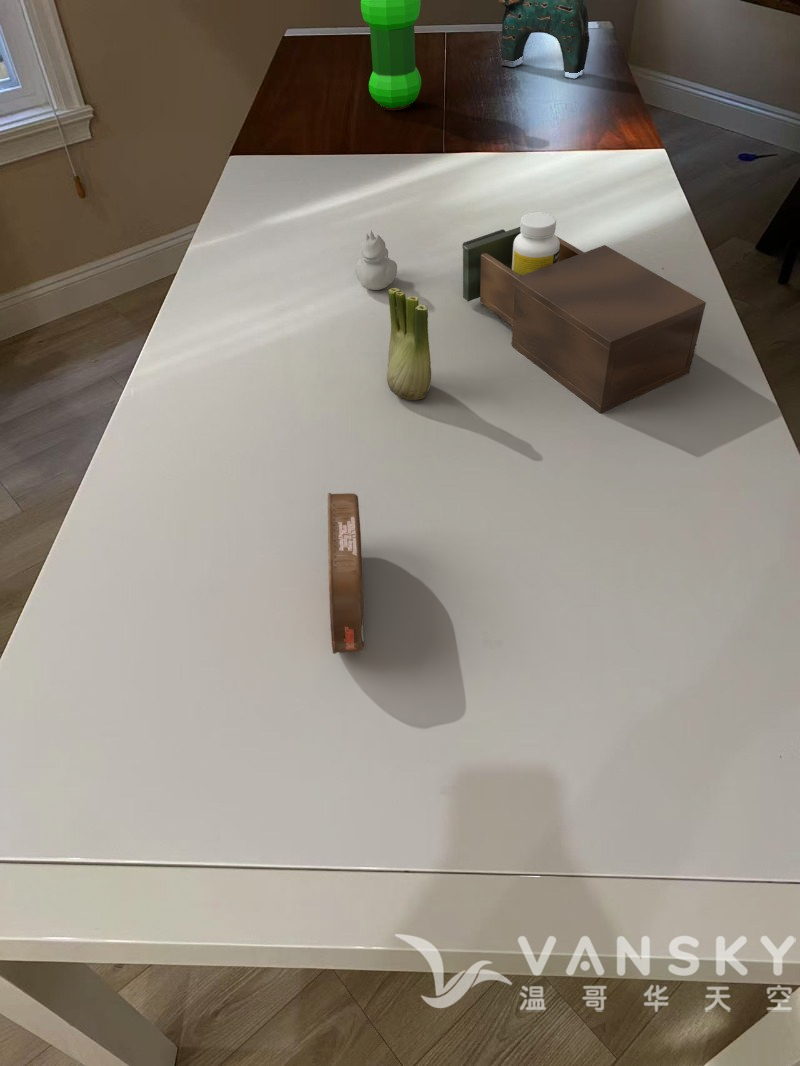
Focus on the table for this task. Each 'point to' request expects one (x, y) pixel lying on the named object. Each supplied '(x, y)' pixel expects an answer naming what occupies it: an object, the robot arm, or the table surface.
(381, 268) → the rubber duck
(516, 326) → the cabinet
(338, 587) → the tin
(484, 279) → the drawer
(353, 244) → the table surface
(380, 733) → the table surface
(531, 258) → the supplement bottle
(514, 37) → the ceramic cat
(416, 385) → the fennel bulb
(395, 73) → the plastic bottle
